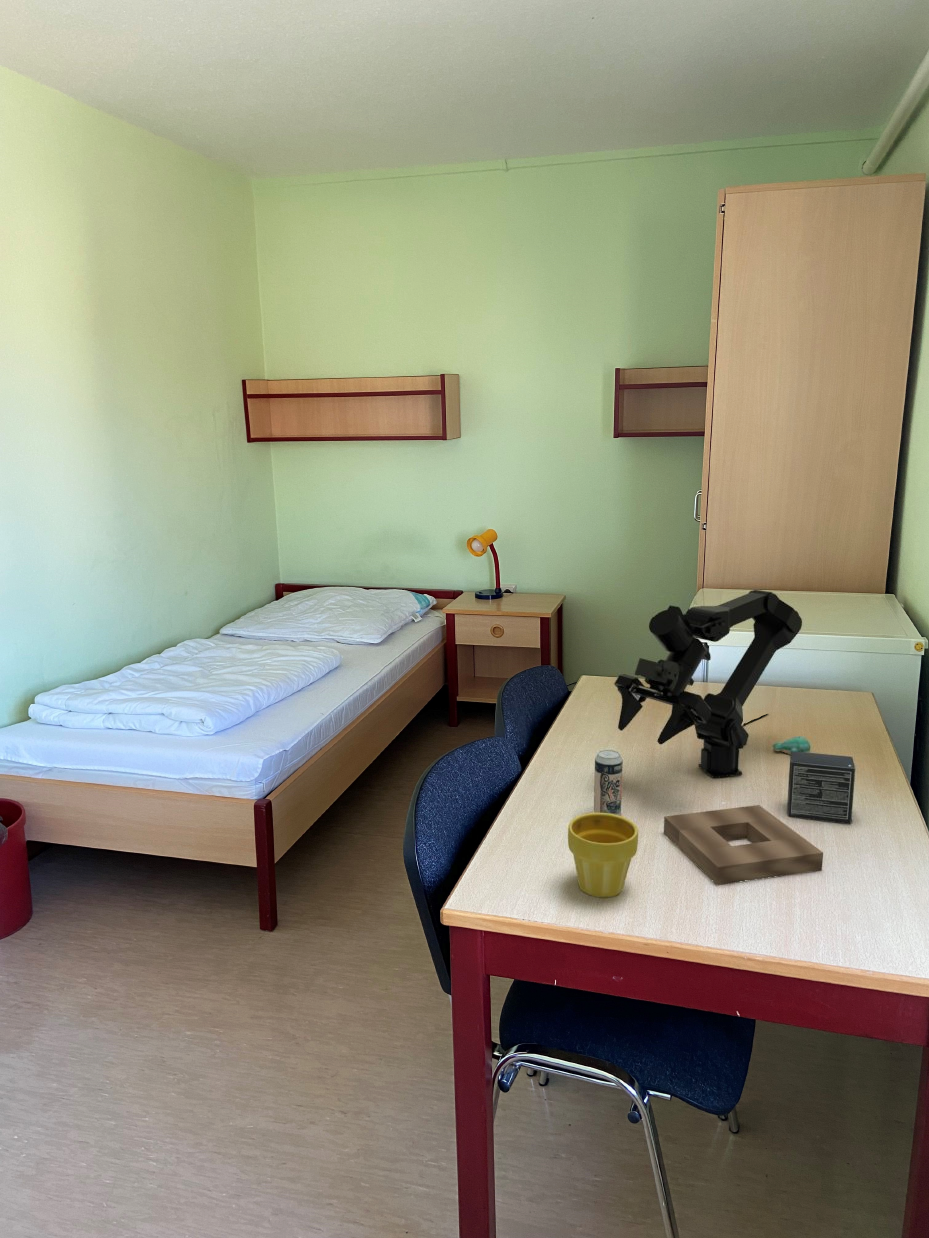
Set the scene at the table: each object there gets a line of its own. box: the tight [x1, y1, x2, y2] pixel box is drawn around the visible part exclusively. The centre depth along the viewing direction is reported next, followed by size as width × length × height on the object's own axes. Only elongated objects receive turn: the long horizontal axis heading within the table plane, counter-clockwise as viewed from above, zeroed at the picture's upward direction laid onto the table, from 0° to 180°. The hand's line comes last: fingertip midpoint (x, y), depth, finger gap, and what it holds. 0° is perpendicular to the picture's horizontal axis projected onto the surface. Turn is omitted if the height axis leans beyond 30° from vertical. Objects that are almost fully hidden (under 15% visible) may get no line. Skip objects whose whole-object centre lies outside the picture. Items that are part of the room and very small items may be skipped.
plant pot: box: [567, 812, 639, 898], centre depth 130 cm, size 10×10×10 cm
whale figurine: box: [772, 735, 811, 755], centre depth 183 cm, size 6×7×4 cm
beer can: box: [593, 749, 624, 816], centre depth 153 cm, size 5×5×12 cm
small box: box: [786, 751, 857, 825], centre depth 154 cm, size 11×6×10 cm, turn 71°
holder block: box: [663, 804, 824, 886], centre depth 141 cm, size 18×18×3 cm
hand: (638, 736), depth 156 cm, fingers open, 9 cm apart
